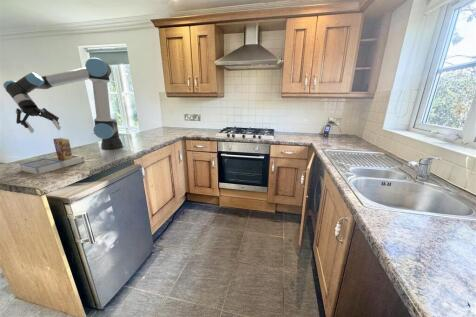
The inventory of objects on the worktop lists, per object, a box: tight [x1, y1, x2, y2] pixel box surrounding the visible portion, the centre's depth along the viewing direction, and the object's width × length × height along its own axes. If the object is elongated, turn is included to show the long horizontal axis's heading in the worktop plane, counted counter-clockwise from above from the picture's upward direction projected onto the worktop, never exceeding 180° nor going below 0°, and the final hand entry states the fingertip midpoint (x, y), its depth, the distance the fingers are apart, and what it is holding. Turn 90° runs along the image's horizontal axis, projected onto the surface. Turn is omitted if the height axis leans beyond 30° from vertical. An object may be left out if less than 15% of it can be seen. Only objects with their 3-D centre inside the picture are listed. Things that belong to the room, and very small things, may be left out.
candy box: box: [53, 137, 73, 161], centre depth 120 cm, size 9×4×15 cm, turn 66°
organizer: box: [19, 153, 85, 175], centre depth 116 cm, size 24×14×4 cm, turn 161°
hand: (46, 130), depth 120 cm, fingers open, 13 cm apart
